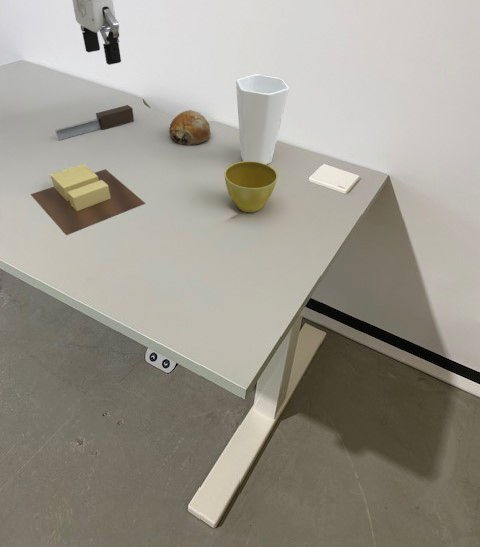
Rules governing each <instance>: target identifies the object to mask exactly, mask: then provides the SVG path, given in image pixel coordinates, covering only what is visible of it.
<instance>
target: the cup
mask: <svg viewBox="0 0 480 547" xmlns="http://www.w3.org/2000/svg"><path fill="white" fill-rule="evenodd" d="M235 85H236V86H235V87H236V100H237V101H236V102H237V103H236V104H237V114H238V115H237V117H238V118H237V119H238V132H239V135H238V136H239V146H240V147H239V150H240V158H241V160H242V162H243V161H255V162H260V163H264V164H267V165H269V164H271V163H272V161H273V158H274V153H275V149H276V146H277V142H278V136H279V132H280V128H281V124H282V119H283V115H284V111H285V108H286V103H287V99H288V95H289V92H290V91H289V90H290V87H289V86H288V85H287V83H286V82H285V81H284V80H283V78H281V77H276V76H270V75H264V74H258V73H256V74H251V75H247V76H243V77H240V78H237V79H236V80H235Z"/></svg>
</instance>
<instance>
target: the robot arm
mask: <svg viewBox="0 0 480 547" xmlns="http://www.w3.org/2000/svg"><path fill="white" fill-rule="evenodd" d="M72 6H73V11H74V15H75V16H74V17H75V21H76V23H78V25H80V30H81V32H82V33H81V34H82V39H83V43H84V49H85V52H86V53H93V52H99V51H100V50H101V47H100V41H99V35H98V33H100V36H101V37H102V40H103V42H104V43H102V45H103V52H104V58H105V62H106V64H107V65H108V66H110V65H115V64H119V63H121V62H122V57H121V50H120V38H119V37H120V23H119V21H118V20H117V19H116V12H115V6H114V0H72ZM107 33H108V34H107Z"/></svg>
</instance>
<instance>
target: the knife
mask: <svg viewBox="0 0 480 547" xmlns="http://www.w3.org/2000/svg"><path fill="white" fill-rule="evenodd" d="M95 117H96V118H95V119H91V120H88V121H83V122H80V123H76V124H73V125H69V126H65V127H61V128H57V129H55V134H56V137H57V140H58V141H63V140H66V139H69V138H73V137H76V136H80V135H84V134H87V133H90V132H93V131H97V130H102V131H103V130H108V129H111V128H114V127H119V126H121V125H122V126H123V125H126V124H129V123H133V122H134V121H135V117H134V109H133V107H132V106H130V105H128V104H126V105H122V106H119V107H114V108H111V109H107V110H103V111H98V112H96V113H95Z"/></svg>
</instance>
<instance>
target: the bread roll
mask: <svg viewBox="0 0 480 547" xmlns="http://www.w3.org/2000/svg"><path fill="white" fill-rule="evenodd" d="M168 132H169V135H170V138H171V139H172V140H173V141H174V142H176V143H178V144H179V145H187V146H189V145H190V146H192V145H200V144H202V143H204V142H206V141H208V140H209V139H210V137H211V127H210V123H209V121H208V120H207V119H206V117H205V116H204V115H203V114H202V113H201V112H198V111H195V110H192V109H188V110H185V111H182V112H180V113H179V114H177V115H176V116H175V117H174V118H173V119H172V121H171V122H170V125H169V131H168Z"/></svg>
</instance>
